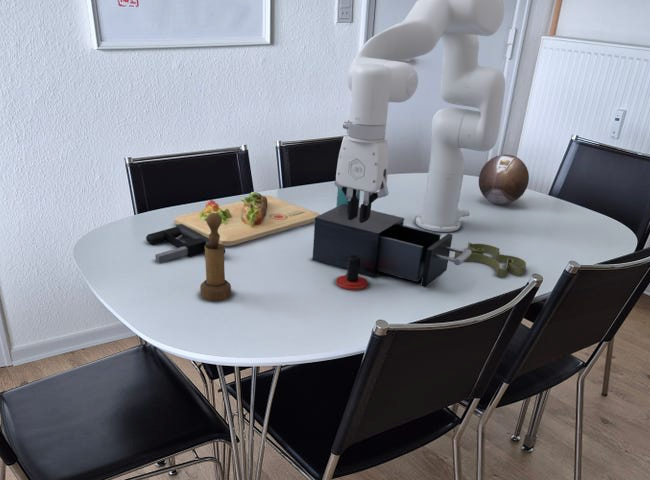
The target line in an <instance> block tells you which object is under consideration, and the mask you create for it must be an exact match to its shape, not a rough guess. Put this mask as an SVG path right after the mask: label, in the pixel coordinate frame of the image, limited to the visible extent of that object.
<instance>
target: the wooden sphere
mask: <svg viewBox="0 0 650 480" xmlns="http://www.w3.org/2000/svg"><path fill="white" fill-rule="evenodd" d="M478 175H479V176H478V188H479V191H480V193H481V194H482V196H483V197H484V198H485V199H486V200H487V201H488V202H490V203H493V204H495V205H509V204H512V203H514V202H515V201H517V200H519V199H520V198H521V197H522V196H523V195H524V194H525V192H526V190H527V188H528V185H529V181H530V173H529V170H528V167H527V166H526V163H525V162H524V161H523V160H522V159H521V158H520V157H517V156H515V155H513V154H499V155H496V156H494V157H492V158H490V159H489V160H488V161H487V162H486V163H484V164H483V166H482V168H481V170H480V171H479V174H478Z"/></svg>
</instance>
